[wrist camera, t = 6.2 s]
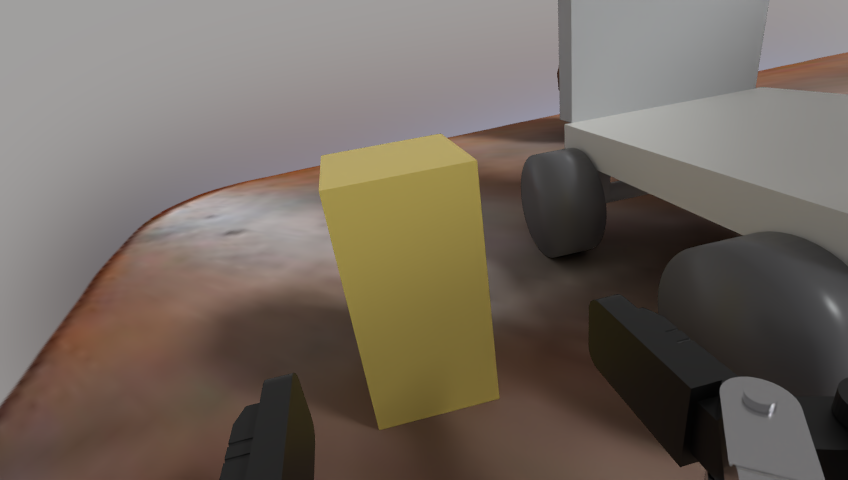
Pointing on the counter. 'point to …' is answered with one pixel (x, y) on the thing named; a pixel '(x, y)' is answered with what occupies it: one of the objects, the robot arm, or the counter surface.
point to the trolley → (707, 178)
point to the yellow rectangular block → (413, 274)
